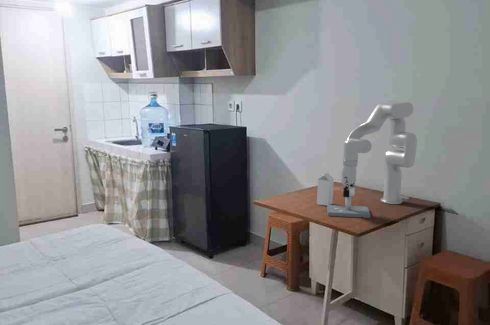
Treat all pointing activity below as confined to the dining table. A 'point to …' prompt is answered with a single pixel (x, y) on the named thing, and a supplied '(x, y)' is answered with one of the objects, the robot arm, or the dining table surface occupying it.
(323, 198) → the milk carton
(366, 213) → the post stand
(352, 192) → the white rounded lump
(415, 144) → the robot arm
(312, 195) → the dining table surface
